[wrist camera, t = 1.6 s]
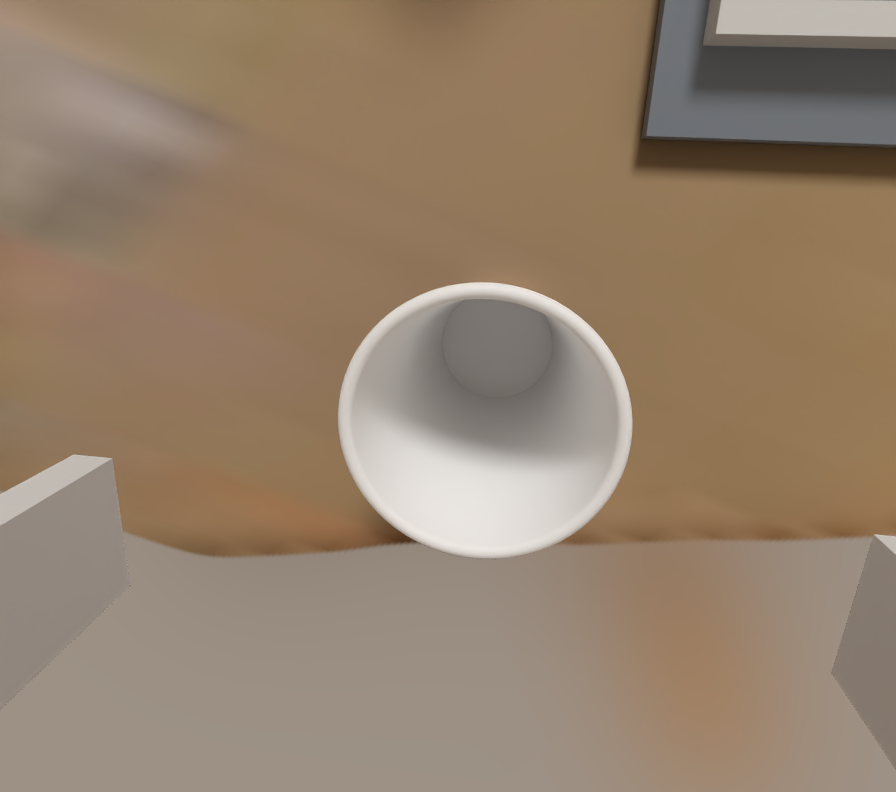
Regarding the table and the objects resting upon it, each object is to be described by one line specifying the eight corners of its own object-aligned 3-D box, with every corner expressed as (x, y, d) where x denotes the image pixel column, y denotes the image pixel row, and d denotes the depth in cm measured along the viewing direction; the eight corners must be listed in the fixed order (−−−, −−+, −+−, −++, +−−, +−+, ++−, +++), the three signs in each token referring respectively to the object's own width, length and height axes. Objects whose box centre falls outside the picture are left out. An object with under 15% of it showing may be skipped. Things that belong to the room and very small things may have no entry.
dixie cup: (592, 419, 27) (638, 556, 16) (422, 431, 28) (361, 566, 17) (583, 240, 24) (629, 265, 14) (397, 261, 25) (311, 300, 15)
